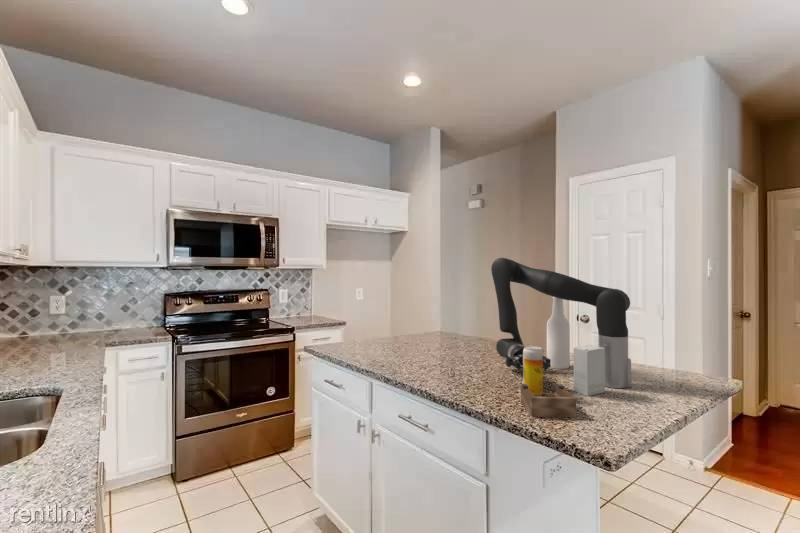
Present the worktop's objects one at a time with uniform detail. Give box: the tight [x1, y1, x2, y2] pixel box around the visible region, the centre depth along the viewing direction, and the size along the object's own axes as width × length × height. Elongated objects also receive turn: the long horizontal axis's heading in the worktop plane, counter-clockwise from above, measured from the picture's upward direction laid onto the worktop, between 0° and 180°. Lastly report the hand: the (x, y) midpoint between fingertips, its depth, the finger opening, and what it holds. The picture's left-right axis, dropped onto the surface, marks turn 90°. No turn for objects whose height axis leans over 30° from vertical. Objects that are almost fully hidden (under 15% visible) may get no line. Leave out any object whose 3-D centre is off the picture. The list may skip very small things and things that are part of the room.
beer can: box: [522, 345, 544, 397], centre depth 132 cm, size 6×6×15 cm
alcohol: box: [546, 296, 571, 370], centre depth 169 cm, size 9×9×30 cm
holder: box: [520, 383, 577, 418], centre depth 118 cm, size 12×12×6 cm
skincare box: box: [573, 344, 606, 397], centre depth 134 cm, size 8×6×15 cm
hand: (533, 366), depth 132 cm, fingers open, 8 cm apart
